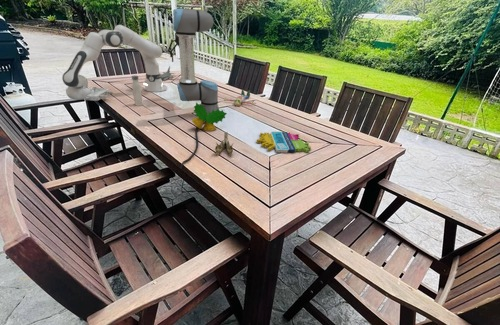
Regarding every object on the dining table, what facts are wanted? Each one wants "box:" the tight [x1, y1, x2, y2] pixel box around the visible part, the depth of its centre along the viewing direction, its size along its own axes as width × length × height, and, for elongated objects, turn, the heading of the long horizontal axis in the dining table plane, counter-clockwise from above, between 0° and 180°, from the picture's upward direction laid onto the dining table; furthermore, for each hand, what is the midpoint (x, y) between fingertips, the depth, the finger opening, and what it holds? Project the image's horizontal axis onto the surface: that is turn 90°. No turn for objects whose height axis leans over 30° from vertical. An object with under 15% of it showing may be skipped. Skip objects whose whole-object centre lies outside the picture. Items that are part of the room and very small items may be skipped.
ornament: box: [191, 101, 228, 132], centre depth 162 cm, size 21×8×15 cm, turn 105°
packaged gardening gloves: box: [256, 131, 312, 154], centre depth 152 cm, size 26×2×30 cm
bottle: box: [131, 79, 144, 107], centre depth 192 cm, size 6×6×20 cm
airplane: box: [160, 65, 176, 81], centre depth 271 cm, size 38×32×10 cm
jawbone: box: [214, 131, 234, 156], centre depth 136 cm, size 9×15×10 cm
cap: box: [131, 74, 139, 81], centre depth 188 cm, size 4×4×2 cm
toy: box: [223, 89, 257, 106], centre depth 219 cm, size 28×7×30 cm
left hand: (110, 95), depth 193 cm, fingers open, 8 cm apart
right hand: (181, 62), depth 210 cm, fingers open, 13 cm apart
